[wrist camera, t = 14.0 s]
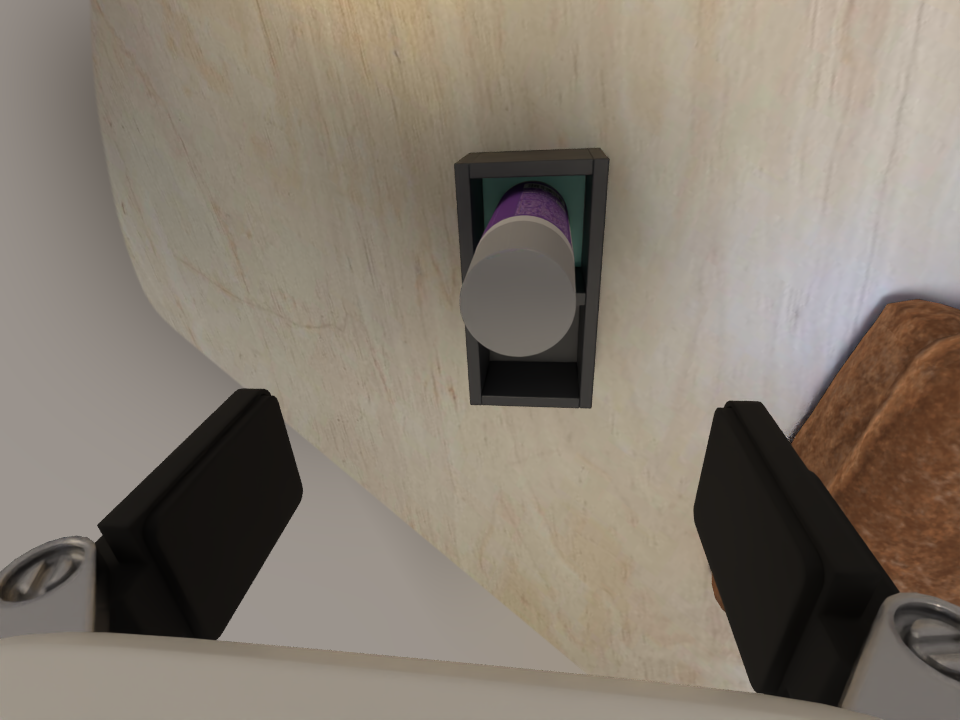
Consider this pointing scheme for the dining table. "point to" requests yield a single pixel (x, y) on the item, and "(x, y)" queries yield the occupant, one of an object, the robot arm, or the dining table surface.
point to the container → (522, 274)
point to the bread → (897, 445)
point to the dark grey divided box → (583, 186)
